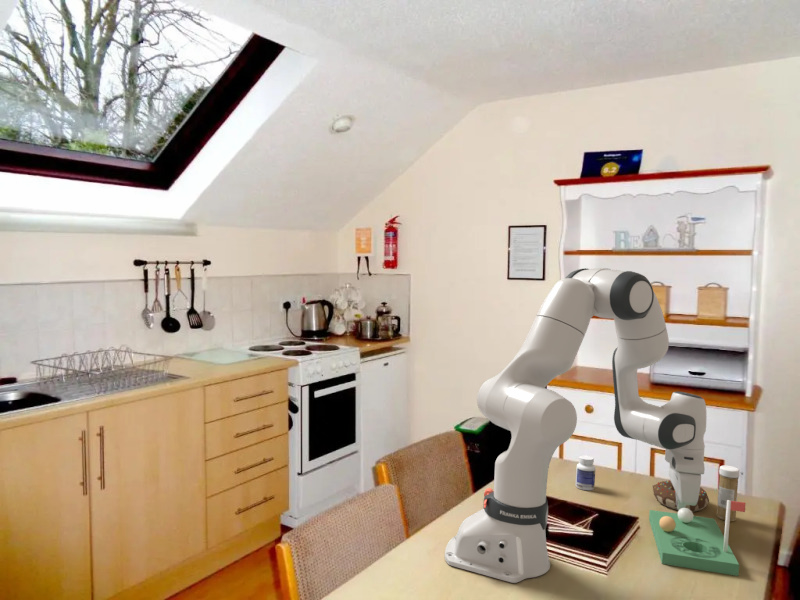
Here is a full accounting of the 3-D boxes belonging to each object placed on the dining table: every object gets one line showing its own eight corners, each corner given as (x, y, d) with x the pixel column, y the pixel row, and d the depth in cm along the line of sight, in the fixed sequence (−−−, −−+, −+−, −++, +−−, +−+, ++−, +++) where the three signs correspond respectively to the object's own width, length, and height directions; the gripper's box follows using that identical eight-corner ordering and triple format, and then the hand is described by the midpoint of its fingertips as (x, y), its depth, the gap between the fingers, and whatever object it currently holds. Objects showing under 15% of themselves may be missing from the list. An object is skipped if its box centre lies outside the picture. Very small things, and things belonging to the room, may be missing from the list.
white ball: (678, 524, 148) (679, 510, 147) (676, 518, 151) (677, 504, 151) (694, 526, 147) (695, 512, 146) (691, 520, 150) (692, 506, 150)
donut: (714, 504, 167) (715, 487, 167) (698, 519, 158) (699, 500, 157) (661, 489, 177) (662, 473, 177) (642, 502, 167) (644, 484, 167)
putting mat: (661, 563, 133) (666, 501, 132) (649, 519, 156) (652, 465, 155) (747, 577, 128) (752, 512, 127) (721, 529, 151) (725, 474, 150)
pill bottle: (596, 491, 174) (598, 460, 173) (578, 490, 174) (580, 460, 173) (591, 484, 179) (592, 454, 178) (573, 483, 179) (574, 454, 178)
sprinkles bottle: (739, 519, 158) (743, 469, 157) (729, 523, 155) (733, 471, 154) (721, 513, 161) (725, 463, 160) (712, 516, 159) (716, 466, 158)
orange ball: (660, 533, 142) (661, 518, 142) (658, 526, 146) (659, 512, 145) (676, 535, 141) (677, 520, 141) (673, 529, 145) (674, 514, 144)
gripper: (664, 442, 165) (661, 492, 166) (677, 466, 145) (673, 523, 146) (690, 445, 163) (686, 495, 164) (706, 470, 143) (702, 527, 144)
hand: (680, 508), depth 155 cm, fingers closed
